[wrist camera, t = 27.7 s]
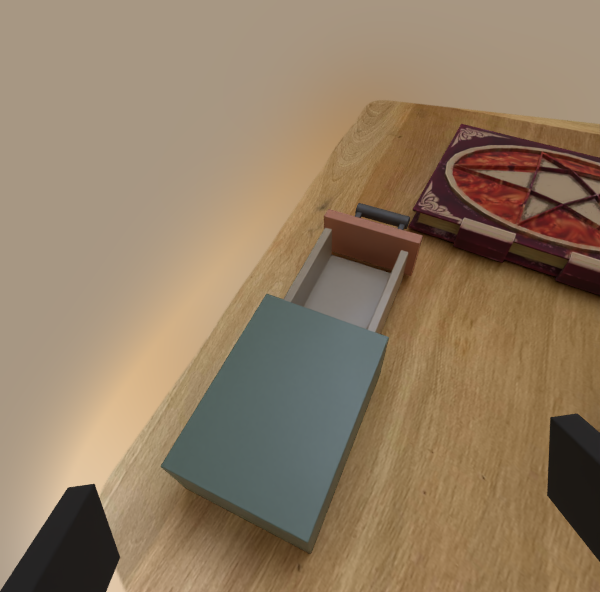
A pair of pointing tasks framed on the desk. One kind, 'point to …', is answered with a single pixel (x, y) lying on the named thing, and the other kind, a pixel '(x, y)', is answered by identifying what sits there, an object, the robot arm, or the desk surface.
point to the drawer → (357, 267)
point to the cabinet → (281, 419)
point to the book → (517, 204)
